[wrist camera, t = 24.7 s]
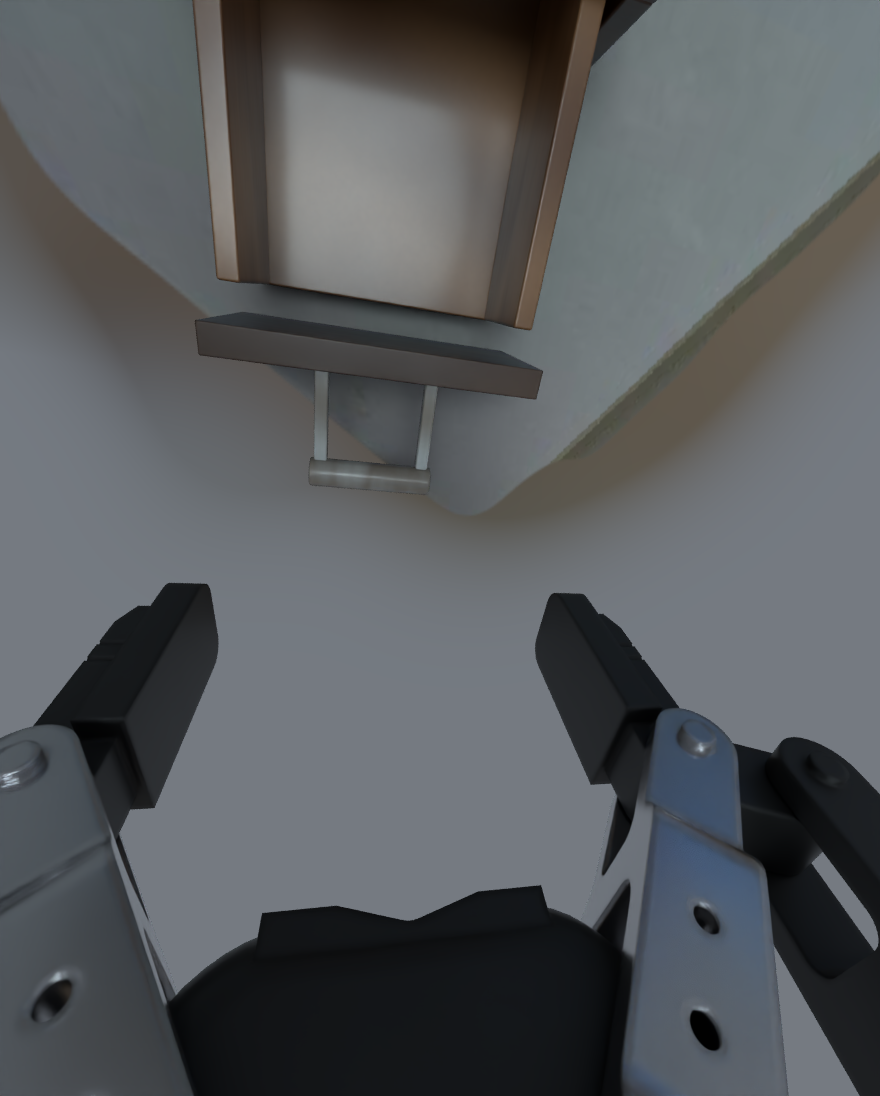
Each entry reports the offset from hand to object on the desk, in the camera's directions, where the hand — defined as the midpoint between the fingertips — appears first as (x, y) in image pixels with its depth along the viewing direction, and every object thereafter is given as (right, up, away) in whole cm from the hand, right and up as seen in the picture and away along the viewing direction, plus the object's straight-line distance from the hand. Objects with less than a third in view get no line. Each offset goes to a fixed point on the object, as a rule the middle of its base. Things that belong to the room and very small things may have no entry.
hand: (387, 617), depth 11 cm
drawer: (-2, +16, +11) cm, 19 cm away
